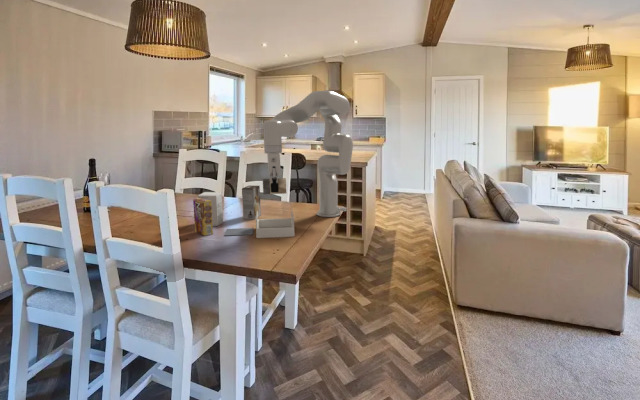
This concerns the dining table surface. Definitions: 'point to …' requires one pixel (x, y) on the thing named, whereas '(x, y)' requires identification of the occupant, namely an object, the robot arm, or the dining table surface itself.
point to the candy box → (203, 216)
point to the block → (280, 186)
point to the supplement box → (214, 206)
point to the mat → (239, 232)
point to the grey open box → (266, 229)
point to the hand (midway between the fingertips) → (274, 190)
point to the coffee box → (251, 202)
